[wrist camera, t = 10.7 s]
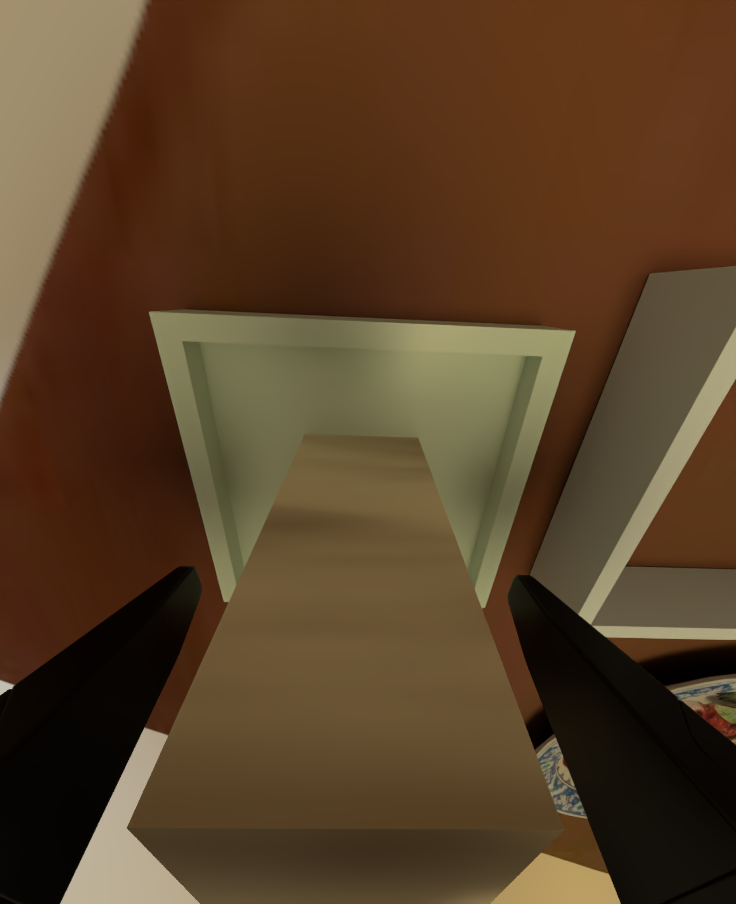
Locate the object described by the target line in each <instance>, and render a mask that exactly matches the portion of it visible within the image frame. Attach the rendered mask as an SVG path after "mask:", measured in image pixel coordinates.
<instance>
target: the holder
mask: <svg viewBox="0 0 736 904" xmlns="http://www.w3.org/2000/svg"><path fill="white" fill-rule="evenodd" d="M735 379H736V266H730V267H719V268H707V269H696V270H684V271H672V272H661V273H650V274H649V277H648V279H647V282H646V284H645V287H644V289H643V292H642V294H641V297H640V299H639V302H638V304H637V307H636V309H635V312H634V314H633V317H632V319H631V322H630V324H629V327H628V329H627V332H626V334H625V337H624V339H623V342H622V344H621V347H620V349H619V352H618V354H617V357H616V359H615V362H614V364H613V367H612V369H611V372H610V374H609V377H608V379H607V382H606V384H605V387H604V389H603V392H602V395H601V397H600V400H599V402H598V405H597V407H596V410H595V412H594V415H593V417H592V420H591V422H590V425H589V427H588V430H587V432H586V435H585V437H584V440H583V442H582V445H581V447H580V450H579V452H578V455H577V457H576V460H575V462H574V465H573V467H572V470H571V472H570V475H569V477H568V480H567V482H566V485H565V487H564V490H563V492H562V495H561V497H560V500H559V502H558V505H557V507H556V510H555V512H554V515H553V517H552V520H551V522H550V525H549V527H548V530H547V532H546V535H545V537H544V540H543V542H542V545H541V547H540V550H539V552H538V555H537V557H536V560H535V562H534V565H533V567H532V570H531V572H530V576H532V577H534V578H535V579H536V580H538V581H539V582H540V583H541V584H542V585H544V586H545V587H546V588H547V589H548V590H550V591H551V592H552V593H553V594H554V595H556V596H557V597H558V598H559V599H560V600H562V601H563V602H564V603H565V604H566V605H568V606H569V607H570V608H571V609H572V610H574V611H575V612H576V613H577V614H578V615H580V616H581V617H582V618H583V619H584V620H586V621H587V622H588V623H589V624H590V625H592V626H593V627H594V628H595V629H596V630H598V631H599V632H600V633H601V634H602V635H604V636H605V637H621V638H669V639H717V640H736V569H702V568H664V567H626V564H627V562H628V560H629V559H630V557H631V555H632V554H633V552H634V550H635V549H636V547H637V545H638V543H639V542H640V540H641V538H642V537H643V535H644V533H645V532H646V530H647V528H648V527H649V525H650V523H651V521H652V520H653V518H654V516H655V515H656V513H657V511H658V510H659V508H660V506H661V504H662V503H663V501H664V499H665V498H666V496H667V494H668V493H669V491H670V489H671V488H672V486H673V484H674V482H675V481H676V479H677V477H678V476H679V474H680V472H681V471H682V469H683V467H684V465H685V464H686V462H687V460H688V459H689V457H690V455H691V454H692V452H693V450H694V448H695V447H696V445H697V443H698V442H699V440H700V438H701V437H702V435H703V433H704V432H705V430H706V428H707V426H708V425H709V423H710V421H711V420H712V418H713V416H714V415H715V413H716V411H717V409H718V408H719V406H720V404H721V403H722V401H723V399H724V398H725V396H726V394H727V393H728V391H729V389H730V387H731V386H732V384H733V382H734V381H735Z"/></svg>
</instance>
